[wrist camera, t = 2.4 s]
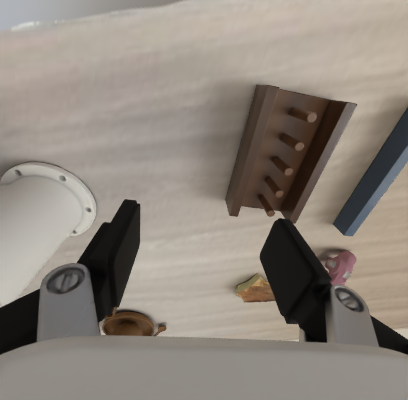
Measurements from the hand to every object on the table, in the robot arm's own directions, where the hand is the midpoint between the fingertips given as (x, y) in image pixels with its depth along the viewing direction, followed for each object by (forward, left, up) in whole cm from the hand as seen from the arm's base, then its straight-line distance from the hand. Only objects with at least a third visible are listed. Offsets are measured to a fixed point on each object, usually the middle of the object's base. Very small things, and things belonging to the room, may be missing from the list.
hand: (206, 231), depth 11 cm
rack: (+11, 0, -18) cm, 21 cm away
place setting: (-8, -42, -18) cm, 46 cm away
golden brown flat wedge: (+19, -28, -18) cm, 38 cm away
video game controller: (+30, -20, -18) cm, 40 cm away
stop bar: (+26, 0, -18) cm, 32 cm away
